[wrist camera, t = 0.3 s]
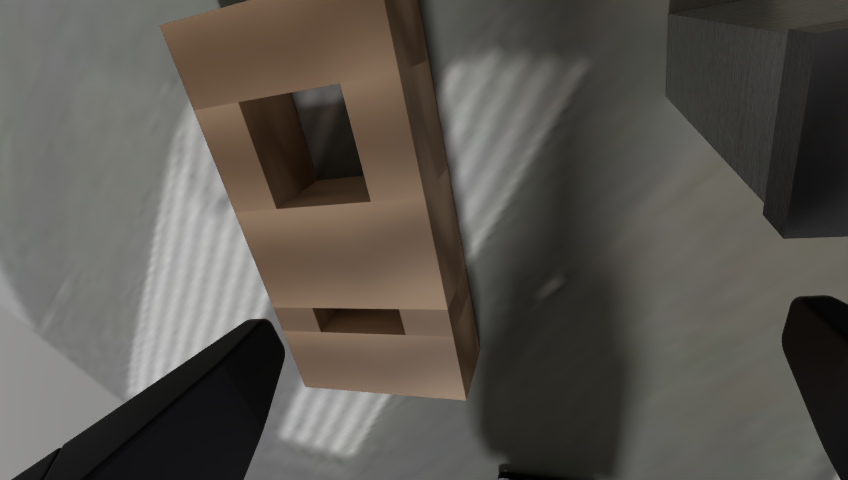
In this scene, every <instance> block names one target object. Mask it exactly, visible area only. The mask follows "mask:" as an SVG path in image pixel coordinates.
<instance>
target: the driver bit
mask: <svg viewBox="0 0 848 480" xmlns="http://www.w3.org/2000/svg"><path fill="white" fill-rule="evenodd" d="M666 97H667V98H668V99H669V100H670V102H671V103H672V104H673V105H674V106H675V107H676V108H677V109H678V110H679V111H680V112H681V113H682V115H683V116H684V117H685V118H686V119H687V120H688V121H689V122H690V123H691V124H692V125H693V126H694V128H695V129H696V130H697V131H698V132H699V133H700V134H701V135H702V136H703V137H704V138H705V139H706V141H707V142H708V143H709V144H710V145H711V146H712V147H713V148H714V149H715V150H716V151H717V152H718V154H719V155H720V156H721V157H722V158H723V159H724V160H725V161H726V162H727V163H728V164H729V166H730V167H731V168H732V169H733V170H734V171H735V172H736V173H737V174H738V175H739V176H740V177H741V179H742V180H743V181H744V182H745V183H746V184H747V185H748V186H749V187H750V188H751V189H752V190H753V192H754V193H755V194H756V195H757V196H758V197H759V198H760V199H761V200H762V201H763V202H764V209H763V215H764V217H765V218H766V219H767V220H768V221H769V222H770V223H771V225H772V226H773V227H774V228H775V229H776V230H777V232H778V233H779V234H780V235H781V236H782V237H783V238H784V239H787V238H816V237H845V236H848V0H740V1H734V2H729V3H724V4H719V5H713V6H708V7H703V8H698V9H693V10H687V11H682V12H677V13H672V14H668V42H667V70H666Z"/></svg>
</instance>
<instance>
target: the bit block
mask: <svg viewBox="0 0 848 480" xmlns="http://www.w3.org/2000/svg"><path fill="white" fill-rule="evenodd" d="M159 26H160V28H161V31H162V33H163V36H164V38H165V40H166V43H167V45H168V48H169V50H170V53H171V55H172V58H173V60H174V63H175V65H176V68H177V70H178V73H179V75H180V78H181V80H182V83H183V85H184V88H185V90H186V92H187V95H188V97H189V100H190V102H191V105H192V107H193V110H194V112H195V115H196V117H197V120H198V122H199V125H200V127H201V130H202V132H203V135H204V137H205V140H206V142H207V145H208V147H209V149H210V152H211V154H212V157H213V159H214V162H215V164H216V167H217V169H218V172H219V174H220V177H221V179H222V182H223V184H224V187H225V189H226V192H227V194H228V197H229V199H230V201H231V204H232V206H233V209H234V211H235V214H236V216H237V219H238V221H239V224H240V226H241V229H242V231H243V234H244V236H245V239H246V241H247V244H248V246H249V249H250V251H251V253H252V256H253V258H254V261H255V263H256V266H257V268H258V271H259V273H260V276H261V278H262V281H263V283H264V286H265V288H266V291H267V293H268V296H269V298H270V301H271V303H272V305H273V308H274V310H275V313H276V315H277V318H278V320H279V323H280V325H281V328H282V330H283V333H284V335H285V338H286V340H287V343H288V345H289V348H290V350H291V353H292V355H293V357H294V360H295V362H296V365H297V367H298V370H299V372H300V375H301V377H302V380H303V382H304V385H305V387H314V388H326V389H338V390H350V391H361V392H373V393H385V394H397V395H408V396H420V397H432V398H444V399H455V400H467V396H468V392H469V389H470V385H471V381H472V378H473V374H474V370H475V367H476V363H477V359H478V356H479V352H480V347H479V341H478V335H477V330H476V324H475V318H474V313H473V307H472V301H471V296H470V290H469V284H468V279H467V273H466V267H465V262H464V256H463V250H462V245H461V239H460V233H459V228H458V222H457V216H456V211H455V205H454V199H453V194H452V188H451V182H450V177H449V171H448V165H447V160H446V154H445V148H444V143H443V137H442V131H441V126H440V120H439V114H438V109H437V103H436V97H435V92H434V86H433V81H432V75H431V69H430V64H429V58H428V52H427V47H426V41H425V35H424V30H423V24H422V18H421V13H420V7H419V1H418V0H248V1H244V2H241V3H237V4H233V5H230V6H226V7H223V8H219V9H216V10H212V11H209V12H205V13H201V14H198V15H194V16H191V17H187V18H184V19H180V20H177V21H173V22H169V23H166V24H162V25H159ZM339 83H340V85H341V89H342V93H343V97H344V101H345V104H346V108H347V112H348V116H349V120H350V124H351V127H352V131H353V135H354V139H355V143H356V147H357V150H358V154H359V158H360V162H361V166H362V170H363V173H364V176H354V177H345V178H335V179H325V180H317V176H316V173H315V170H314V167H313V163H312V160H311V157H310V154H309V151H308V147H307V144H306V141H305V138H304V134H303V131H302V128H301V125H300V121H299V118H298V115H297V112H296V108H295V105H294V102H293V99H292V95H291V92H296V91H302V90H307V89H312V88H318V87H323V86H329V85H334V84H339Z"/></svg>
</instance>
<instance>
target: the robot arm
mask: <svg viewBox="0 0 848 480" xmlns="http://www.w3.org/2000/svg"><path fill="white" fill-rule="evenodd" d="M782 347H783V351H784V354H785V356H786V358H787V361H788V363H789V366H790V368H791V371H792V373H793V375H794V378H795V380H796V383H797V385H798V388H799V390H800V393H801V395H802V397H803V400H804V402H805V405H806V407H807V410H808V412H809V414H810V417H811V419H812V422H813V424H814V427H815V429H816V432H817V434H818V436H819V438H820V440H821V443H822V445H823V447H824V449H825V451H826V453H827V455H828V457H829V459H830V461H831V463H832V465H833V467H834V468H835V470H836V472H837V474H838V476H839V477H840V479H841V480H848V304H846V303H844V302H842V301H840V300H838V299H836V298H834V297H831V296H826V295H819V296H800V297H797V298H795V299H794V300H793V301H792V303H791V305H790V308H789V312H788V316H787V319H786V323H785V327H784V330H783V334H782ZM284 358H285V349H284V346H283V344H282V342H281V340H280V338H279V336H278V334H277V332H276V331H275V329H274V327H273V325H272V323H271V322H270V321H269V320H267V319H250V320H247V321H245V322H244V323H242V324H241V325H239V326H238V327H236V328H235V329H233V330H232V331H230V332H229V333H227V334H226V335H224V336H223V337H221V338H220V339H219V340H217V341H216V342H214V343H213V344H211V345H210V346H208V347H207V348H205V349H204V350H202V351H201V352H199V353H198V354H196V355H195V356H194V357H192V358H191V359H189V360H188V361H186V362H185V363H183V364H182V365H180V366H179V367H177V368H176V369H174V370H173V371H171V372H170V373H168V374H167V375H166V376H164V377H163V378H161V379H160V380H158V381H157V382H155V383H154V384H152V385H151V386H149V387H148V388H146V389H145V390H143V391H142V392H140V393H139V394H138V395H136V396H135V397H133V398H132V399H130V400H129V401H127V402H126V403H124V404H123V405H121V406H120V407H118V408H117V409H115V410H114V411H113V412H111V413H110V414H108V415H107V416H105V417H104V418H102V419H101V420H99V421H98V422H96V423H95V424H94V425H92V426H90V427H89V428H87V429H86V430H85V431H83V432H82V433H80V434H79V435H77V436H76V437H74V438H73V439H71V440H70V441H68V442H67V443H65V444H64V445H63V446H62V448H58V449H56V450H55V451H54V452H52V453H51V454H49V455H47V456H46V457H45V458H43V459H42V460H40V461H39V462H37V463H36V464H34V465H33V466H31V467H30V468H28V469H27V470H25V471H24V472H22V473H21V474H19V475H18V476H16V477H15V478H13V479H12V480H244V477H245V475H246V472H247V470H248V467H249V465H250V462H251V460H252V457H253V455H254V452H255V450H256V447H257V445H258V442H259V440H260V437H261V435H262V432H263V429H264V426H265V423H266V420H267V417H268V413H269V410H270V407H271V403H272V400H273V396H274V393H275V390H276V386H277V383H278V379H279V376H280V373H281V369H282V366H283V362H284ZM498 480H552V479H545V478H538V477H530V476H523V475H516V474H509V473H500V474H499V475H498Z"/></svg>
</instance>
